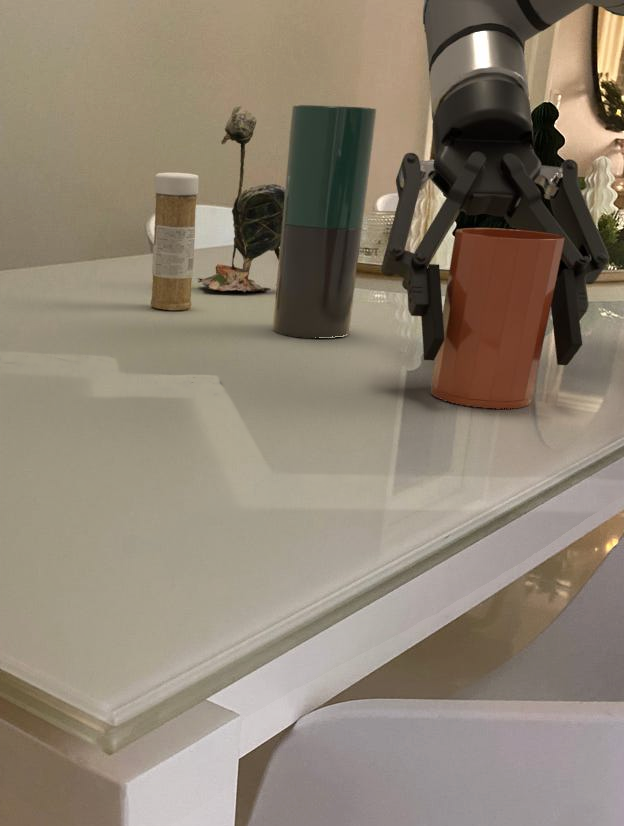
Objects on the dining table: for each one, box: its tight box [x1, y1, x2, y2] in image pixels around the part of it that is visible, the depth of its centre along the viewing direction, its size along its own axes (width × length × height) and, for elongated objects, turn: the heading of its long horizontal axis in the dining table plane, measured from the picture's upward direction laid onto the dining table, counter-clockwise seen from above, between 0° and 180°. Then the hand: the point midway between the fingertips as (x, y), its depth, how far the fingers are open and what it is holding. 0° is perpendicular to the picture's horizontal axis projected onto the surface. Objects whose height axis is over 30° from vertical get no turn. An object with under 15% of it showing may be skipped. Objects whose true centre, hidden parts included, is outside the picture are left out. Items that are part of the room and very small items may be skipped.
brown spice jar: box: [150, 172, 200, 311], centre depth 111 cm, size 5×5×13 cm
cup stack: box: [272, 104, 377, 339], centre depth 100 cm, size 8×8×20 cm
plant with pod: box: [196, 105, 285, 293], centre depth 123 cm, size 8×11×20 cm
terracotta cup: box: [430, 227, 565, 410], centre depth 79 cm, size 8×8×12 cm
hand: (501, 352), depth 77 cm, fingers open, 9 cm apart
